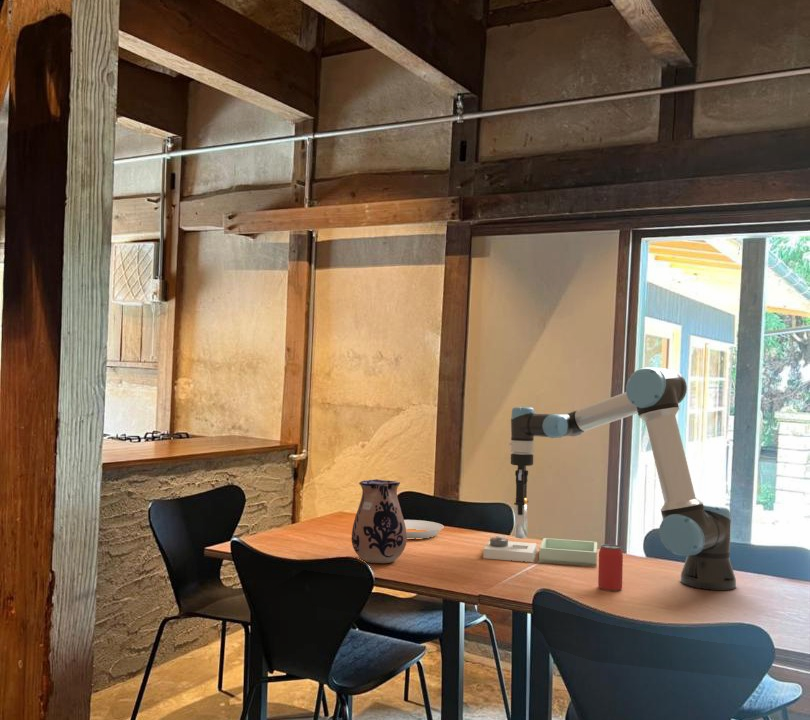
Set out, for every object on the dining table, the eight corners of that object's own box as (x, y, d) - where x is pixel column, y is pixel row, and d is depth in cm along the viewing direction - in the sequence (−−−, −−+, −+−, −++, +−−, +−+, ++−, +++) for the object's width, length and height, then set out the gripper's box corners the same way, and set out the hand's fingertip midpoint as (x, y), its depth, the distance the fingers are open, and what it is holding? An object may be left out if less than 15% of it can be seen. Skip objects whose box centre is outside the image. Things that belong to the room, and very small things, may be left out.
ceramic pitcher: (361, 569, 239) (363, 486, 240) (340, 554, 259) (342, 477, 260) (414, 565, 246) (417, 484, 247) (390, 551, 265) (392, 476, 266)
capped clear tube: (526, 538, 262) (526, 499, 262) (514, 538, 263) (514, 498, 263) (527, 536, 265) (527, 497, 266) (515, 536, 266) (516, 497, 267)
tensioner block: (532, 562, 255) (533, 544, 255) (483, 558, 259) (483, 540, 259) (536, 552, 271) (537, 535, 271) (490, 548, 275) (490, 531, 275)
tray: (596, 566, 251) (596, 552, 251) (539, 562, 256) (539, 548, 256) (596, 555, 269) (597, 541, 269) (543, 551, 273) (543, 537, 273)
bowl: (410, 526, 314) (410, 517, 314) (457, 536, 296) (457, 526, 296) (363, 533, 296) (363, 524, 296) (410, 544, 278) (410, 534, 278)
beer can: (605, 592, 220) (606, 549, 220) (593, 586, 226) (594, 544, 227) (626, 591, 222) (627, 548, 222) (614, 585, 228) (614, 543, 228)
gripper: (513, 450, 274) (512, 518, 273) (507, 454, 258) (506, 526, 257) (535, 451, 272) (534, 520, 272) (531, 455, 256) (530, 528, 255)
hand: (521, 523), depth 264 cm, fingers closed on capped clear tube, 4 cm apart
